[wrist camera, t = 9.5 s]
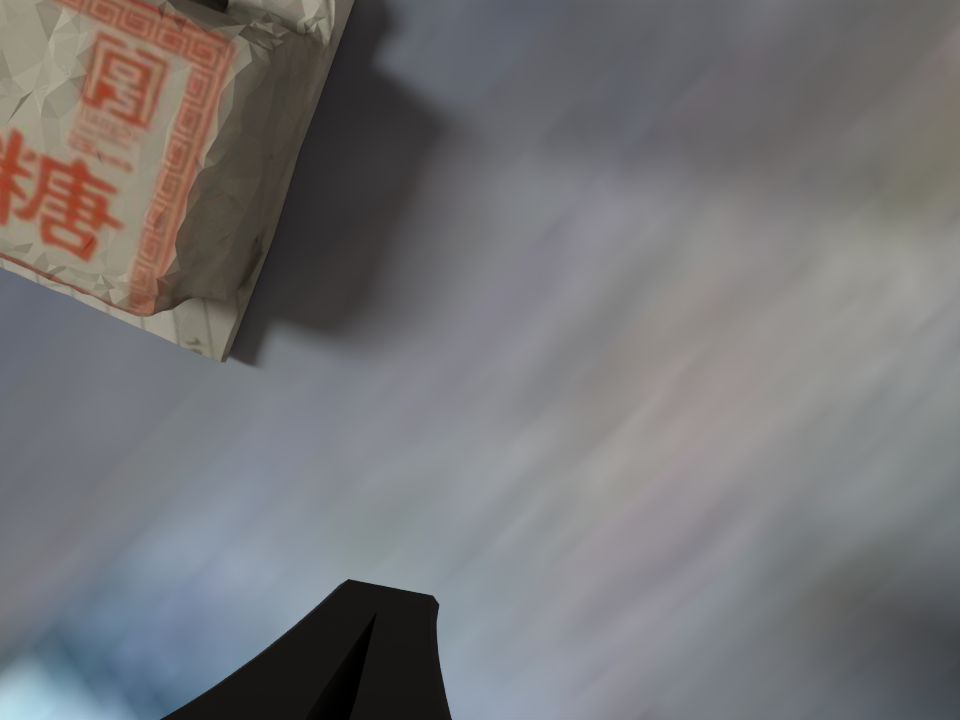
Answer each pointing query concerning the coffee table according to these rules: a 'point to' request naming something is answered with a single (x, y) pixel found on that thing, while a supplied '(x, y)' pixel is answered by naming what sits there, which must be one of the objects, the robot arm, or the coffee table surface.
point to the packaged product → (156, 150)
